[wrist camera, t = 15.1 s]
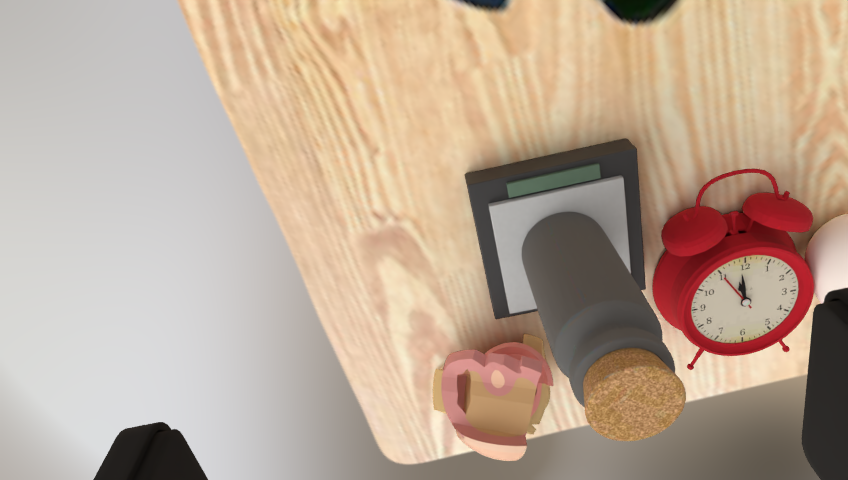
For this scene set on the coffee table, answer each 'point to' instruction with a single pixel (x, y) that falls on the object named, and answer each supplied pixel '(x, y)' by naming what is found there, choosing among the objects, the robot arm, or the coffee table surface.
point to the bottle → (601, 328)
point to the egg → (829, 256)
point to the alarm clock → (735, 273)
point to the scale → (554, 212)
